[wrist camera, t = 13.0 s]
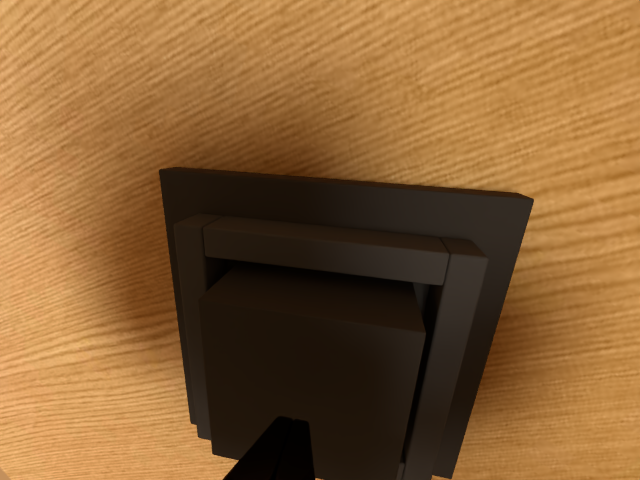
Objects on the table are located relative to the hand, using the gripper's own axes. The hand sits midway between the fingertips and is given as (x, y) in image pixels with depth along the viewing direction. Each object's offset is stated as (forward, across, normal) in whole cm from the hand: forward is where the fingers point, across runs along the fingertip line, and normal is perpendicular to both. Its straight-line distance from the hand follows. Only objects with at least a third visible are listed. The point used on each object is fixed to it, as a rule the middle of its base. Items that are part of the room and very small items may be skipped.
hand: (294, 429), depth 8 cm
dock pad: (+5, 0, 0) cm, 5 cm away
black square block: (+4, 0, 0) cm, 4 cm away
